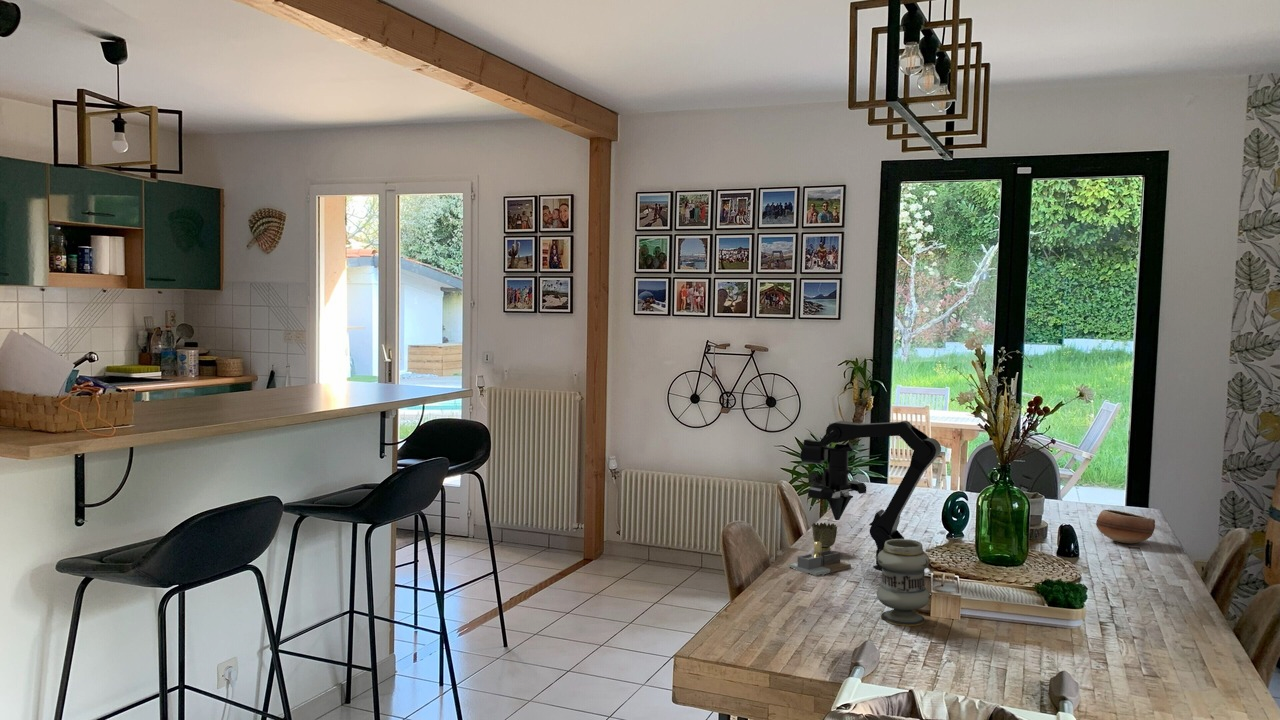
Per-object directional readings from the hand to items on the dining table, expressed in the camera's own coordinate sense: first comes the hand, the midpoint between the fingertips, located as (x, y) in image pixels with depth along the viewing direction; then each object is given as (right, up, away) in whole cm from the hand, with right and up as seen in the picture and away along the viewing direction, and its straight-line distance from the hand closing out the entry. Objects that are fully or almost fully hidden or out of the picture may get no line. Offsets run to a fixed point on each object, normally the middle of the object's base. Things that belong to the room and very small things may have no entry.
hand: (837, 519), depth 271 cm
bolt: (-8, -11, -8) cm, 16 cm away
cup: (-1, -12, +12) cm, 17 cm away
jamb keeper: (-9, -12, -9) cm, 18 cm away
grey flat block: (-4, -12, -5) cm, 14 cm away
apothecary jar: (+5, -15, -51) cm, 53 cm away
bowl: (+95, -12, +26) cm, 99 cm away
